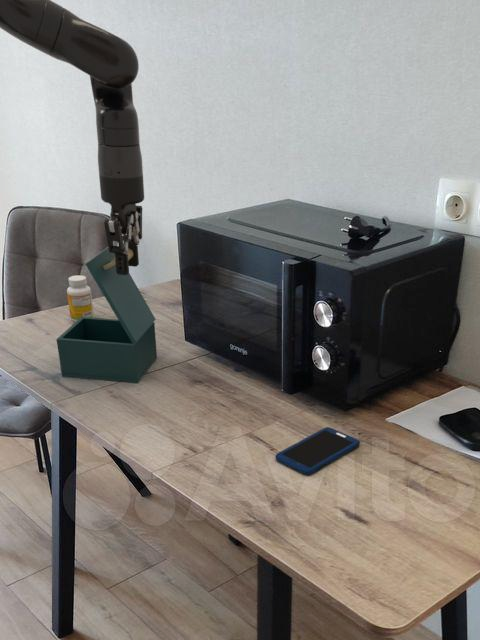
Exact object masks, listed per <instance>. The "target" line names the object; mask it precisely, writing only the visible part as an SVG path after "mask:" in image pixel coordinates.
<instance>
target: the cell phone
mask: <svg viewBox="0 0 480 640" xmlns="http://www.w3.org/2000/svg"><path fill="white" fill-rule="evenodd" d="M360 442H361V441H360V440H359V439H357V438H355V437H354V436H351V435H348V434H346V433H344V432H341V431H340V430H337V429H335V428H333V427H330V426H325V427H324V428H322V429H320V430H318V431H315V432H314V433H313V434H311V435H309V436H307V437H305V438H303V439H301V440H299V441H297V442H296V443H294V444H292V445H290V446H288V447H287V448H285V449H283V450H281V451H279V452H277V453H276V454H275V455H274V456H275V460H276V461H278V462H280V463H281V464H284V465H286V466H288V467H289V468H291V469H293V470H295V471H297V472H300V473H301V474H304V475H313V473H316V472H317V471H319V470H321V469H322V468H323V467H326V466H327V465H329V464H330V463H332V462H334V461H335V460H338V459H339V458H341V457H343V456H344V455H345V454H347V453H349V452H351V451H352V450H354V449H356V448H357V447H358V446H360V445H361V443H360Z"/></svg>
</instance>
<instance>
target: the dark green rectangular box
mask: <svg viewBox="0 0 480 640" xmlns="http://www.w3.org/2000/svg"><path fill="white" fill-rule="evenodd" d="M55 340H56V346H57V352H58V359H59V364H60V371H61V377H63V378H74V379H75V378H76V379H86V380H87V379H88V380H99V381H110V382H120V383H121V382H122V383H133V384H139V382H141V380H142V378H143V377H144V376H145V375H146V374H147V372H148V371H149V369H150V368H151V367H152V365H153V364H154V363H155V361H156V360H157V358H158V352H157V340H156V327H155V321H154V322H153V323H152V324H151V325H150V327H149V328H148V329H147V330H146V331H145V332H144V334H143V335H142V336H141V337H140V338H139V340H138V341H137V342H136V343H134V344H133V343H132V342H131V340H130V338H129V336H128V335H127V333H126V331H125V330H124V328H123V326H122V325H121V323H120V321H119V320H118V318H117V319H116V318H104V317H102V318H101V317H94V318H91V317H81V318H80V319H78V320H77V321H76V322H74V323H73V324H72V325H70V327H68V328H67V329H66V330H65V331H64V332H63V333H62V334H61V335H59V336H58V337H57V338H56V339H55Z"/></svg>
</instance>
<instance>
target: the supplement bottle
mask: <svg viewBox="0 0 480 640" xmlns="http://www.w3.org/2000/svg"><path fill="white" fill-rule="evenodd" d="M67 280H68V285H69V286H68V287H67V289H66V295H67V302H68V309H69V316H70V320H71V321H73V322H74V323H75V322H76V321H77V320H78V319H80V318H81V317H91V318H95V312H94V304H93V295H92V289H91V287H90V286H89V285H87V283H88V281H87V276H86V275H78V274H77V275H71V276H69V277H68V279H67Z"/></svg>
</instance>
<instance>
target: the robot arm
mask: <svg viewBox="0 0 480 640" xmlns="http://www.w3.org/2000/svg"><path fill="white" fill-rule="evenodd" d="M0 29H1V30H2V31H4V32H5V33H7V34H8V35H10V36H12V37H14V38H15V39H17V40H19V41H20V42H23V43H24V44H26V45H28V46H30V47H32V48H33V49H36V50H38V51H39V52H41V53H44V55H47V56H49V57H51V58H53V59H56V60H59V61H61V62H64V63H67V64H69V65H71V66H73V67H75V68H76V69H78V70H79V71H81V72H83V73H84V74H87V75H89V79H90V86H91V91H92V97H93V101H94V107H95V125H96V136H97V137H96V138H97V165H98V166H97V167H98V178H99V189H100V198H101V201H103V203H106V204H109V205H110V214H109V219H105V220H104V222H103V224H104V230H105V236H106V242H107V247H108V248H109V252H110V253H114V254H115V261H116V272H117V274H119V275H127V274H128V273H129V274H130V267H138V266H139V265H140V263H139V262H140V259H139V245H140V241H141V240H142V238H143V206H142V205H137V204H140V203H142V202H143V201H144V200H145V187H144V167H143V155H142V151H141V142H140V126H139V115H138V112H137V109H136V108H135V105H134V104H135V103H134V97H133V96H134V95H133V85H132V83H133V82H134V81H135V80H136V79H137V77H138V74H139V66H140V65H139V58H138V55H137V53H136V51H135V49H134V48H133V47H132V45H131V44H130V43H129V42H127V41H126V40H125V39H123V38H121V37H119V36H118V35H115V34H114V33H111V32H109V31H108V30H106V29H103V28H101V27H99V26H97V25H94V24H93V23H90V22H88V21H86V20H84V19H82V18H80V17H79V16H78V15H76V14H74V13H73V12H71V10H68V9H67V8H65V7H63V6H62V5H60V4H58V3H56V2H55V1H53V0H0ZM128 248H129V249H131V250H132V251H133V257H132V258H131V259H130V260H129V261H128Z"/></svg>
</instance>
